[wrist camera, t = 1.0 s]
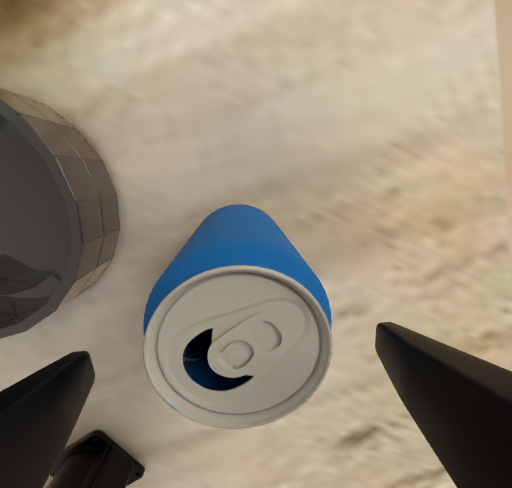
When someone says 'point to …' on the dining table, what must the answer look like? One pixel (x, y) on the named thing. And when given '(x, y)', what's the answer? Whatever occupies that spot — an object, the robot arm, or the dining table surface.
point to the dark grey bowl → (49, 213)
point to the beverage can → (237, 324)
